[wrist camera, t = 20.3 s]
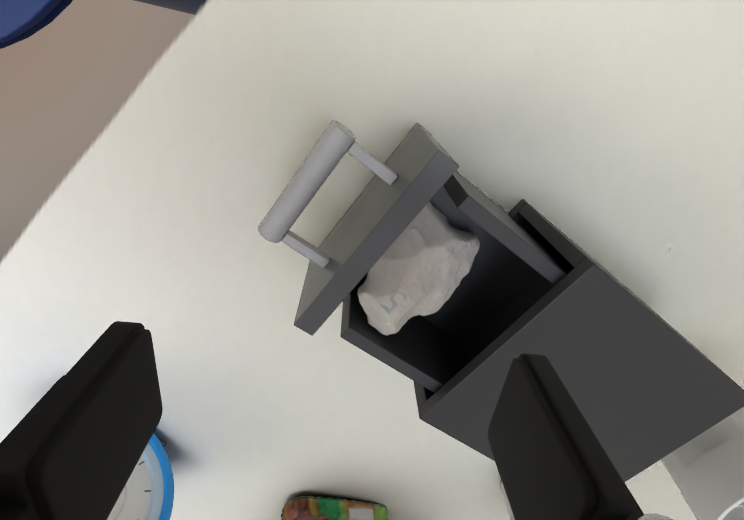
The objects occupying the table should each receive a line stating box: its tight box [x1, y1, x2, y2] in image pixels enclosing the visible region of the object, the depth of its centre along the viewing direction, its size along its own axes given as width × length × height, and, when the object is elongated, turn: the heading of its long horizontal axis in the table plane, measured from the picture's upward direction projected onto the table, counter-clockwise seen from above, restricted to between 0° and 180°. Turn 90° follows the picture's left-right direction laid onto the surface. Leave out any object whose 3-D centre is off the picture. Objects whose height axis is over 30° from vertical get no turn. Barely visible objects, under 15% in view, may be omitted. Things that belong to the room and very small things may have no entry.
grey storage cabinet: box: [413, 200, 744, 482], centre depth 28 cm, size 15×13×10 cm
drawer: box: [258, 120, 572, 393], centre depth 24 cm, size 18×11×8 cm, turn 52°
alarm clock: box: [107, 433, 174, 520], centre depth 30 cm, size 13×6×15 cm, turn 36°
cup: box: [660, 407, 744, 520], centre depth 30 cm, size 8×8×12 cm
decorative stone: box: [357, 201, 480, 336], centre depth 24 cm, size 9×6×3 cm, turn 125°
